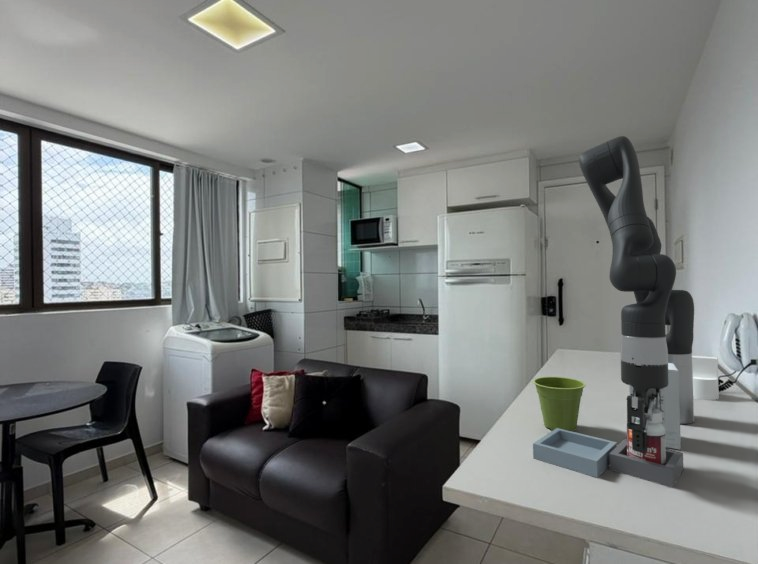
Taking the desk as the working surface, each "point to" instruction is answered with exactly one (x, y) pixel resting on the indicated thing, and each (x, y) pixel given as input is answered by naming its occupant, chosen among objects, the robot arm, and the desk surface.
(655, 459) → the pill bottle
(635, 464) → the gray hollow square frame
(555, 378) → the plant pot
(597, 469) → the parts tray
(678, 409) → the supplement box
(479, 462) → the desk surface
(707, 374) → the cylinder with rectangular tab
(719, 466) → the desk surface
